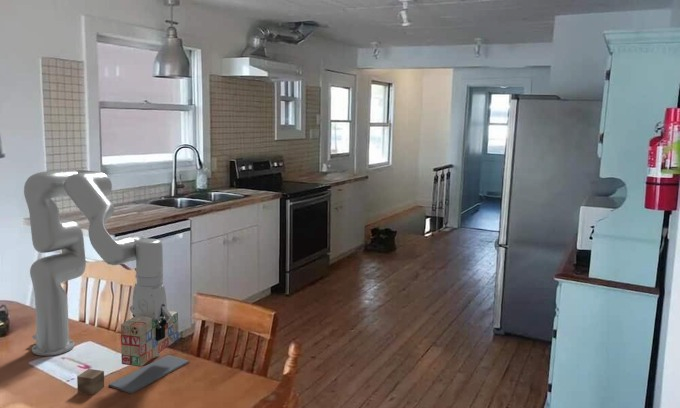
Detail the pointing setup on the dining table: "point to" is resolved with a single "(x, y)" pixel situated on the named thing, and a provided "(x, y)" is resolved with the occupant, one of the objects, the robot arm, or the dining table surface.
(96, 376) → the walnut cube
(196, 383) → the dining table surface
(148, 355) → the stack of blocks
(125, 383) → the mat
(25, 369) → the dining table surface
